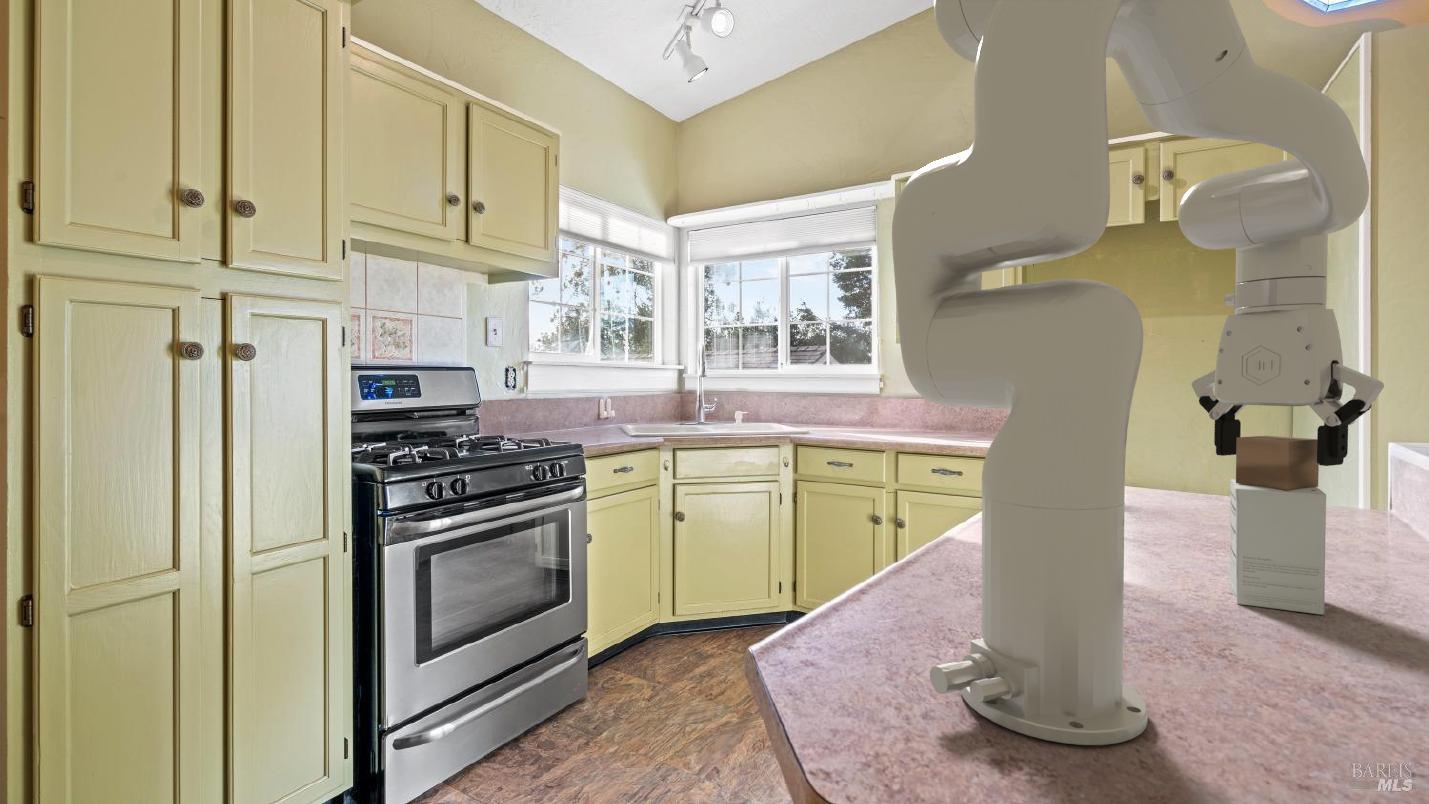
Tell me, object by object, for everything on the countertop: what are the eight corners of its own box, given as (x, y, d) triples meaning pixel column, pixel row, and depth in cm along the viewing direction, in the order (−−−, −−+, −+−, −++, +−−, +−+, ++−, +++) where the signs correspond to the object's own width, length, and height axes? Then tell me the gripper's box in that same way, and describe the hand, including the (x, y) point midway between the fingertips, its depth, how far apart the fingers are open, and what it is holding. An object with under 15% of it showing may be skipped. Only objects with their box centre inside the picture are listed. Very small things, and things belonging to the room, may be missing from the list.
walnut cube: (1287, 490, 70) (1288, 441, 70) (1235, 483, 75) (1236, 437, 75) (1318, 486, 72) (1319, 439, 72) (1265, 480, 77) (1266, 435, 76)
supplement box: (1311, 596, 75) (1313, 482, 74) (1325, 617, 69) (1328, 492, 68) (1227, 586, 79) (1229, 477, 78) (1233, 604, 73) (1235, 486, 72)
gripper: (1174, 306, 79) (1172, 453, 80) (1359, 288, 63) (1355, 472, 64) (1217, 308, 82) (1214, 450, 83) (1405, 290, 66) (1400, 467, 67)
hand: (1275, 459), depth 73 cm, fingers open, 9 cm apart
